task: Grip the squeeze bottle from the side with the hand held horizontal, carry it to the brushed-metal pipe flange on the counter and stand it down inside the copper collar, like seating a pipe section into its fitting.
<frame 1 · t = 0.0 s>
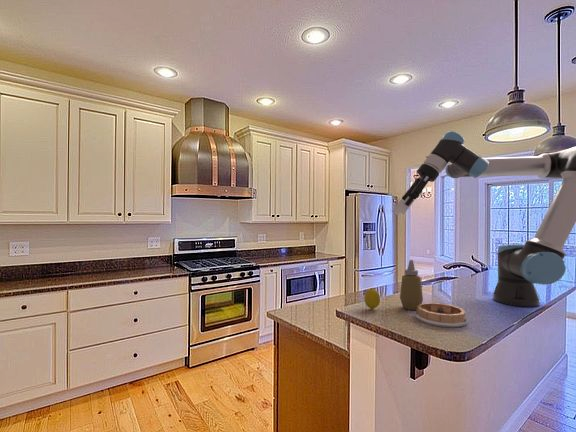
hand: (397, 212, 121), 36 cm above the table, tool tilted 35°, fingers open, 13 cm apart
lemon: (372, 310, 114), on the table
flange seat: (440, 319, 102), on the table
squeeze bottle: (411, 308, 115), on the table
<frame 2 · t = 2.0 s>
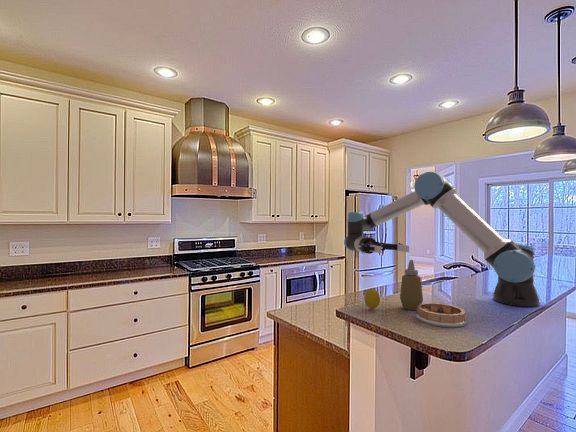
hand: (394, 249, 125), 21 cm above the table, tool horizontal, fingers open, 13 cm apart
nothing on the table moved.
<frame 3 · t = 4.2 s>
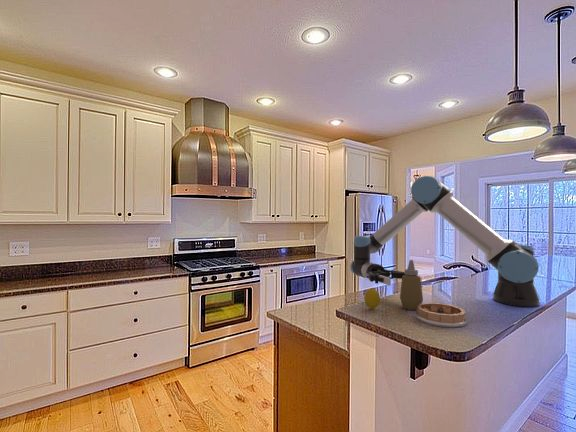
hand: (404, 280, 118), 10 cm above the table, tool horizontal, fingers open, 13 cm apart
nothing on the table moved.
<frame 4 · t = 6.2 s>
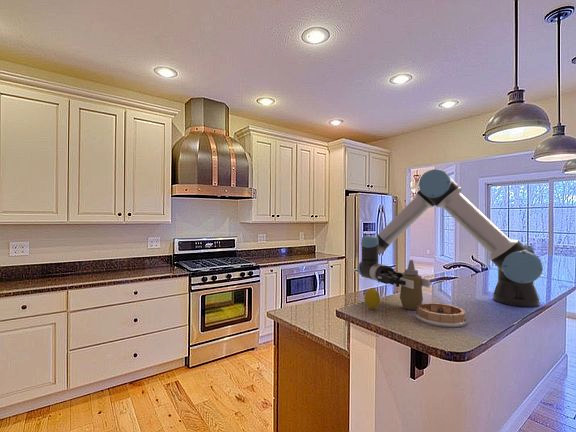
hand: (420, 284, 111), 10 cm above the table, tool horizontal, fingers closed on squeeze bottle, 6 cm apart
squeeze bottle: (411, 308, 115), on the table, touching gripper
everything else where it was.
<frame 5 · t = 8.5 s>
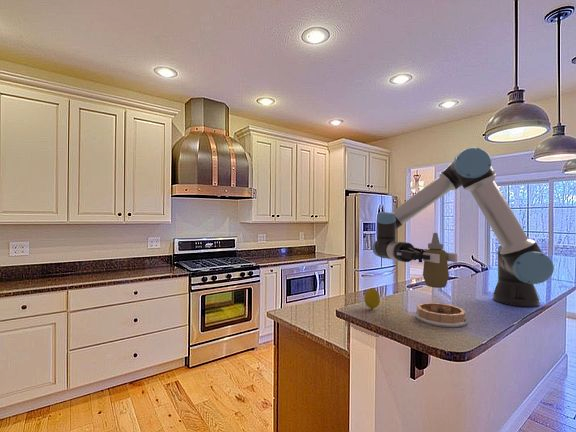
hand: (447, 258, 99), 21 cm above the table, tool horizontal, fingers closed on squeeze bottle, 6 cm apart
squeeze bottle: (435, 287, 104), point 11 cm above the table, touching gripper
everything else where it was.
when the fingers open (12 cm above the table, at t = 11.1 s): squeeze bottle drops 1 cm, resting on flange seat.
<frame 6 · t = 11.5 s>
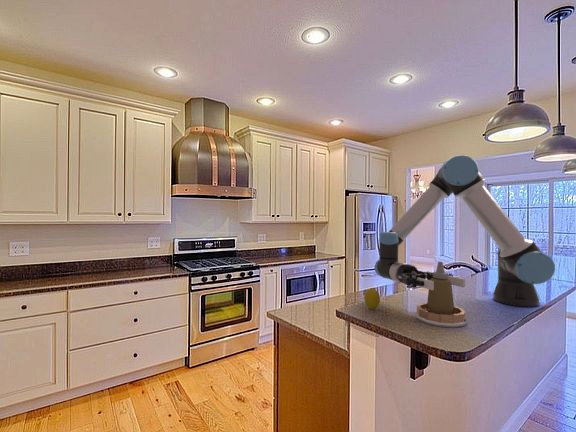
hand: (449, 284, 99), 12 cm above the table, tool horizontal, fingers open, 12 cm apart
squeeze bottle: (440, 316, 102), point 1 cm above the table, touching flange seat
everything else where it was.
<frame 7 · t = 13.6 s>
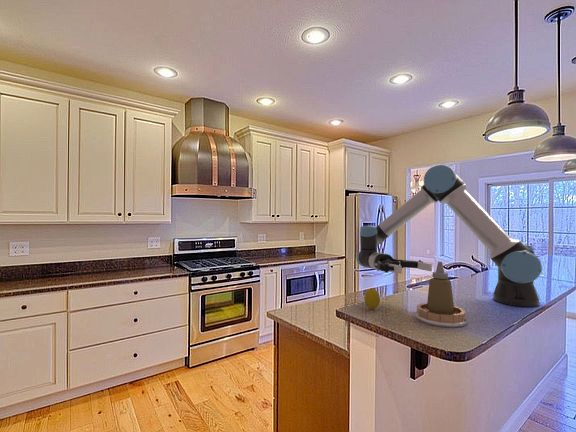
hand: (416, 268, 114), 15 cm above the table, tool horizontal, fingers open, 13 cm apart
nothing on the table moved.
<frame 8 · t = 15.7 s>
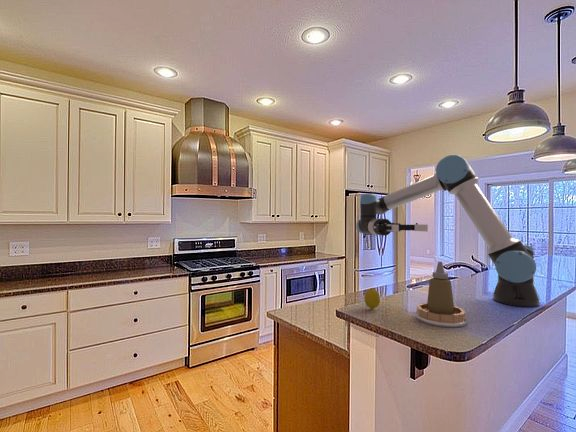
hand: (412, 228, 119), 30 cm above the table, tool horizontal, fingers open, 13 cm apart
nothing on the table moved.
at the end: squeeze bottle 0.1 cm from the flange seat (horizontally); squeeze bottle tilted 0°; the gripper is holding nothing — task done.
